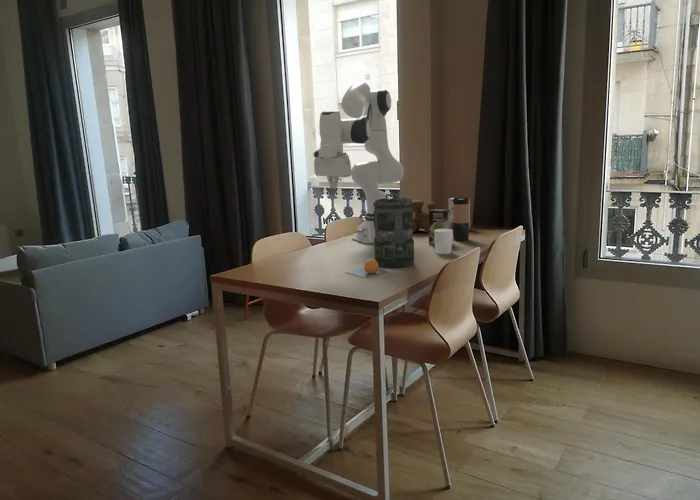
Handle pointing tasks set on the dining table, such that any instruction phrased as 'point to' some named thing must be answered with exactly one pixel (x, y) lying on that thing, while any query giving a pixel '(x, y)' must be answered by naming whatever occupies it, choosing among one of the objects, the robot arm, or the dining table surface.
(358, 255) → the dining table surface
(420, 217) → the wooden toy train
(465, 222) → the travel mug
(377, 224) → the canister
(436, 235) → the white cup
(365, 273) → the mark
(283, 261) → the dining table surface
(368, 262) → the ball
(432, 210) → the coffee box
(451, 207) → the candy bar box
